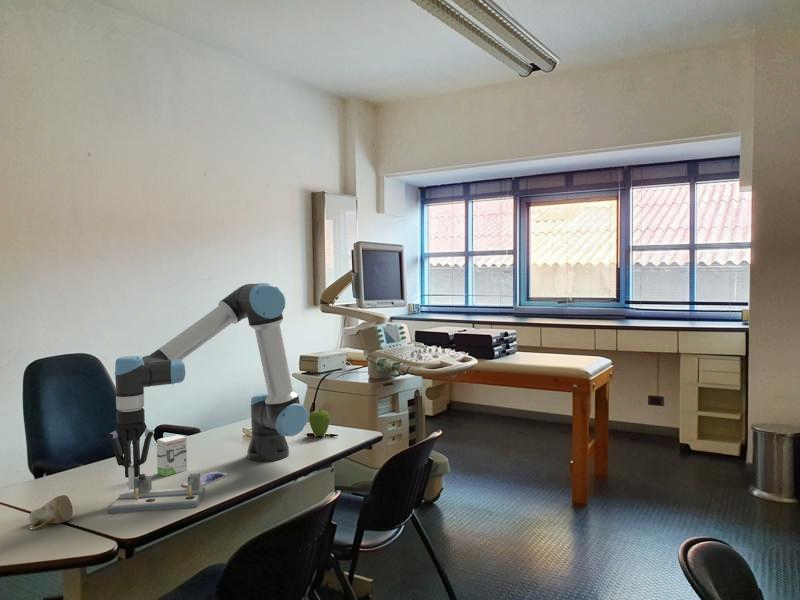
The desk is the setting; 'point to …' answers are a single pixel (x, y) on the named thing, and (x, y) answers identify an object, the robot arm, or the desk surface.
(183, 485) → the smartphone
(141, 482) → the sliding leg
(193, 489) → the board
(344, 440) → the desk surface
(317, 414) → the apple
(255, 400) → the robot arm
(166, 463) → the ink box
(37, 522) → the beige tapered chunky piece
